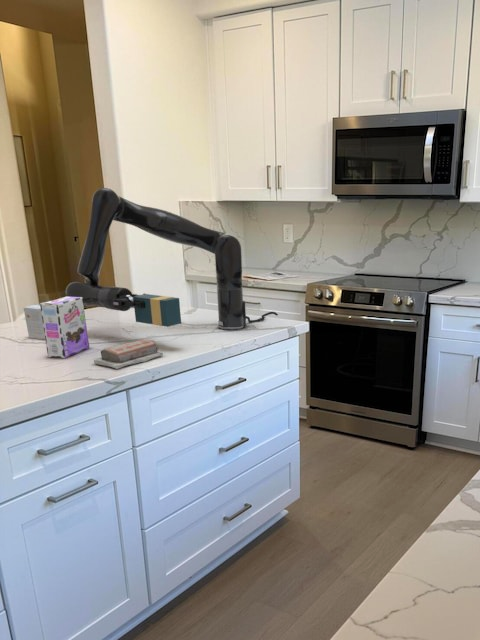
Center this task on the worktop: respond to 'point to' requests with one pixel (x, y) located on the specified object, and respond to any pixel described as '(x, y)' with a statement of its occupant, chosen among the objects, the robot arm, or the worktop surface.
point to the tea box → (158, 310)
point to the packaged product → (128, 354)
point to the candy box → (64, 326)
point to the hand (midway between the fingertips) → (151, 303)
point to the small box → (34, 321)
